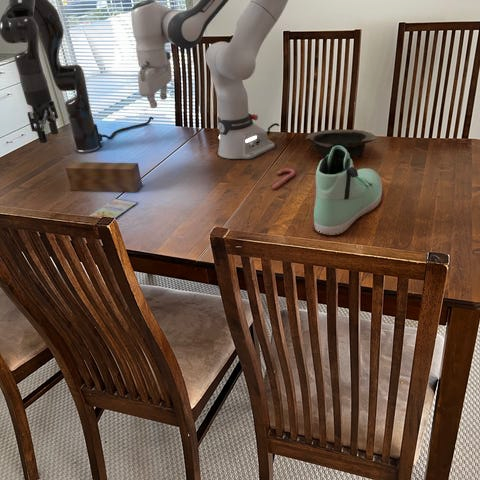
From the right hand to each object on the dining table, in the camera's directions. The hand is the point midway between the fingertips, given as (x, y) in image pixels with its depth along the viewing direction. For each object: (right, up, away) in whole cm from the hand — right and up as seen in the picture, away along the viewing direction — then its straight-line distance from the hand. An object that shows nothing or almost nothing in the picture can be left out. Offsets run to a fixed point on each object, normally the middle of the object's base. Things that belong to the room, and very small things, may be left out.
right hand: (159, 103), depth 157 cm
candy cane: (+40, -25, +2) cm, 47 cm away
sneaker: (+58, -36, -18) cm, 70 cm away
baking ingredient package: (-13, -36, -9) cm, 40 cm away
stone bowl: (+63, -14, +17) cm, 66 cm away
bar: (-19, -27, +7) cm, 34 cm away
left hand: (-36, -11, 0) cm, 38 cm away
